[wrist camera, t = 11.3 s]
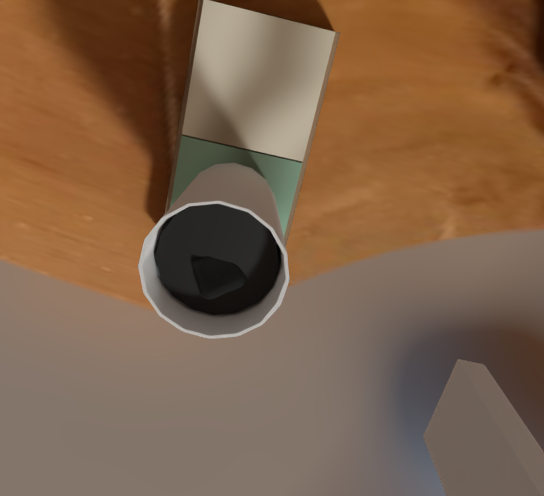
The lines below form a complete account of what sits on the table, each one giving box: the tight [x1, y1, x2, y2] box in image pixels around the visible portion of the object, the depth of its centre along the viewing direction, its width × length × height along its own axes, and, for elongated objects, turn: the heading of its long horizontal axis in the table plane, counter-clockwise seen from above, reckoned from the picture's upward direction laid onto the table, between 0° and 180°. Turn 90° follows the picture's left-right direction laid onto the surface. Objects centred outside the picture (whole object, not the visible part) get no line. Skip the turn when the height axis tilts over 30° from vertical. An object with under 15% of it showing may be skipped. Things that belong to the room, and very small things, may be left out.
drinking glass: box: [138, 163, 289, 339], centre depth 27 cm, size 7×7×10 cm
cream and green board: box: [165, 0, 340, 246], centre depth 31 cm, size 8×15×2 cm, turn 167°
